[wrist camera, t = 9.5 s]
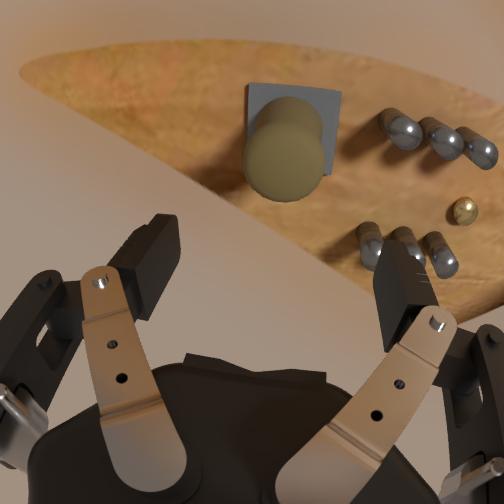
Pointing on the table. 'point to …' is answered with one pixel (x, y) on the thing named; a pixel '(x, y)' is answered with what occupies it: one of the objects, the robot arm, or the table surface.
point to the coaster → (317, 97)
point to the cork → (285, 150)
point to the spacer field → (449, 148)
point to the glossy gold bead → (465, 211)
